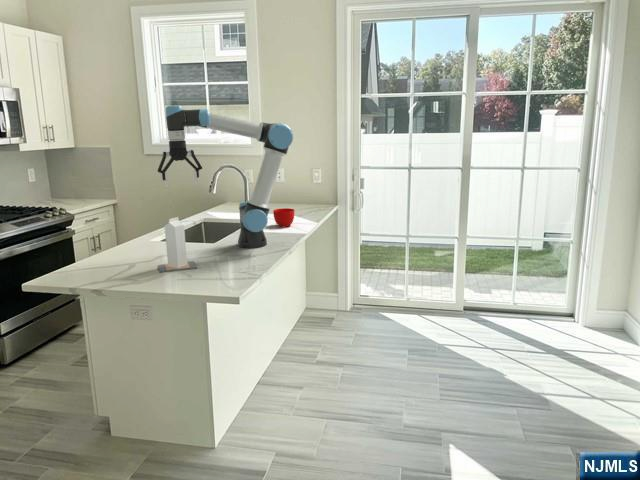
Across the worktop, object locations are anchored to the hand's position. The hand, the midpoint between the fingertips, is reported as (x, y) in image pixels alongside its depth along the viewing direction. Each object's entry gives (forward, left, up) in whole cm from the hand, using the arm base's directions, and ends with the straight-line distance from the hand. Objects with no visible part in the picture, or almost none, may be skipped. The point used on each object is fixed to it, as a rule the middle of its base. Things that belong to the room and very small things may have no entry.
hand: (181, 186), depth 238 cm
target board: (+6, +17, -34) cm, 39 cm away
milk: (+6, +17, -34) cm, 39 cm away
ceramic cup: (-65, -50, -35) cm, 89 cm away
